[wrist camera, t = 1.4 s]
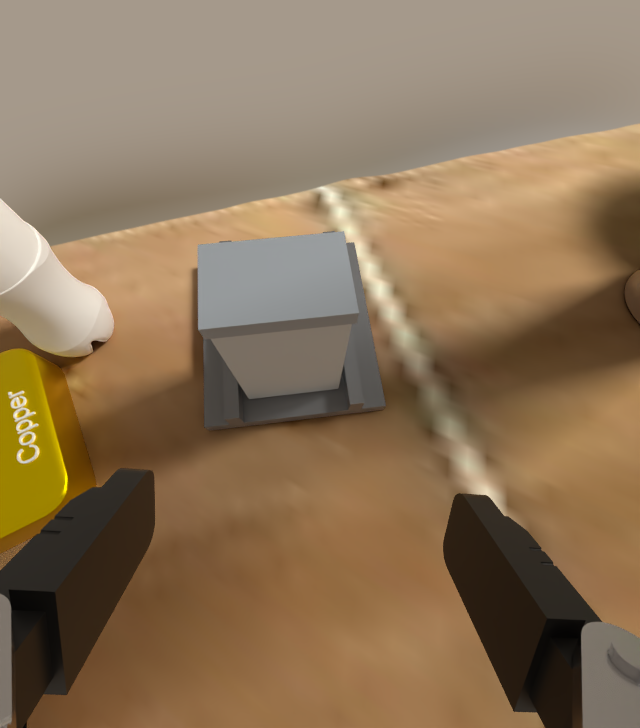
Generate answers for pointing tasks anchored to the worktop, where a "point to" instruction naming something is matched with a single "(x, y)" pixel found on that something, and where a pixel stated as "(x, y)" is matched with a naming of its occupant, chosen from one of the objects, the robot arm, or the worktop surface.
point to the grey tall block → (279, 310)
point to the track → (353, 395)
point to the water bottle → (47, 293)
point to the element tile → (37, 446)
